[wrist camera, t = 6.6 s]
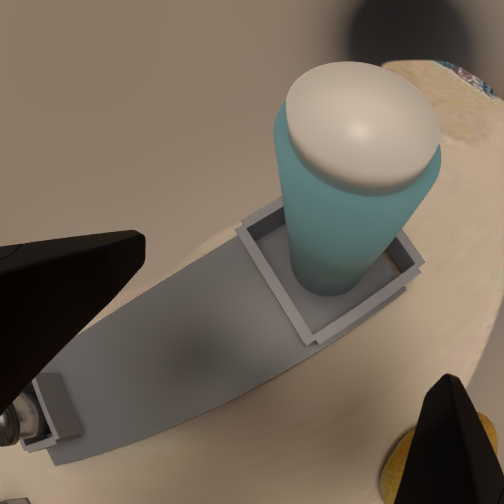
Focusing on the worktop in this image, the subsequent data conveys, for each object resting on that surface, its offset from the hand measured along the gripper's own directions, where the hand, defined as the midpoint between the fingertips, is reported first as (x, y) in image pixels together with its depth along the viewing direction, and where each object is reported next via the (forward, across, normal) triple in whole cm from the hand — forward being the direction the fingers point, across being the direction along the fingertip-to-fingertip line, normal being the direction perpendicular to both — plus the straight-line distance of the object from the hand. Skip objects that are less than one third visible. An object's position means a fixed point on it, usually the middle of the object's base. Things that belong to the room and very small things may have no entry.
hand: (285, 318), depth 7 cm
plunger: (-4, +14, +18) cm, 23 cm away
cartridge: (+11, 0, +4) cm, 12 cm away
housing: (+5, +7, +12) cm, 15 cm away
